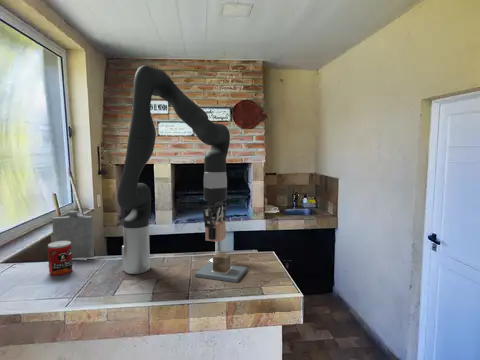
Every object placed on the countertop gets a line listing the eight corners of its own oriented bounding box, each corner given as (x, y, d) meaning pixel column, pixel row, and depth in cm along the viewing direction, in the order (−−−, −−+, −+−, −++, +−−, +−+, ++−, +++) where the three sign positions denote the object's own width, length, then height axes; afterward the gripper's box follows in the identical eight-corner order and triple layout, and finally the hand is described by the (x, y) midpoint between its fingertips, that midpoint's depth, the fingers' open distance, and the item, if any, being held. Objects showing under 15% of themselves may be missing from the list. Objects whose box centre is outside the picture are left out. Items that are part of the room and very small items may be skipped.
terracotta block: (205, 240, 102) (205, 223, 102) (211, 236, 107) (211, 220, 106) (219, 241, 101) (219, 224, 100) (225, 237, 105) (225, 221, 105)
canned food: (51, 277, 114) (50, 247, 113) (47, 271, 120) (45, 243, 119) (75, 272, 119) (73, 243, 118) (69, 266, 125) (68, 239, 124)
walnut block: (212, 271, 116) (212, 256, 116) (218, 266, 121) (218, 252, 120) (225, 272, 114) (225, 258, 114) (230, 268, 119) (230, 253, 119)
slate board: (195, 276, 115) (195, 272, 115) (208, 265, 126) (208, 261, 126) (236, 282, 110) (236, 278, 109) (247, 270, 121) (247, 266, 121)
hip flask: (52, 259, 133) (50, 212, 131) (57, 256, 137) (54, 210, 135) (92, 257, 135) (90, 211, 134) (95, 254, 139) (93, 209, 138)
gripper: (213, 183, 110) (213, 231, 112) (194, 187, 97) (195, 242, 98) (233, 184, 108) (233, 233, 109) (217, 188, 94) (217, 244, 96)
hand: (215, 237), depth 104 cm, fingers closed on terracotta block, 5 cm apart
